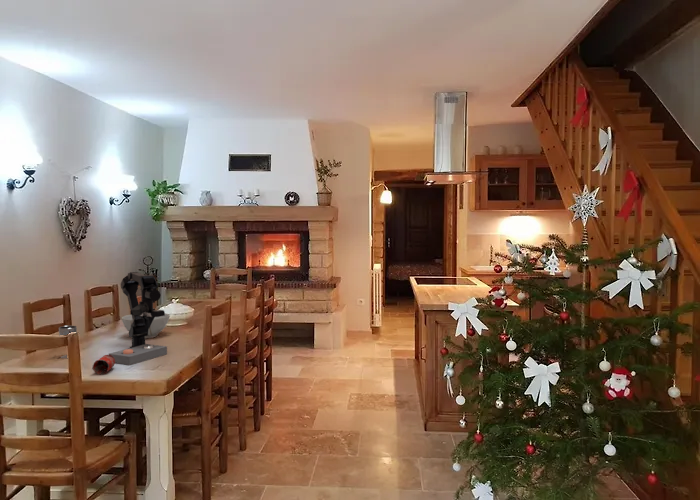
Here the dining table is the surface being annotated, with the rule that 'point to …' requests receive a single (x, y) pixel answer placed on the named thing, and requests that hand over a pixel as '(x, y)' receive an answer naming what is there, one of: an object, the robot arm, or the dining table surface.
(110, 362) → the beverage can
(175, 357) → the dining table surface
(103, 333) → the dining table surface
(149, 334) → the decorative bowl
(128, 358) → the press block
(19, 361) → the dining table surface
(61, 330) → the wine glass
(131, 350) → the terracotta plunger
